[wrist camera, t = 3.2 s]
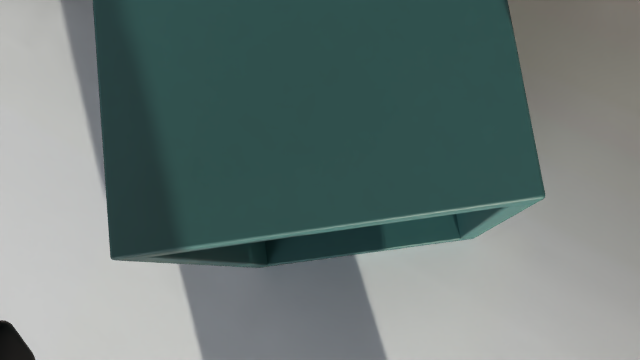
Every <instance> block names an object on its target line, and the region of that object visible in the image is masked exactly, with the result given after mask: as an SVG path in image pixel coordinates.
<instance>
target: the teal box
mask: <svg viewBox="0 0 640 360" xmlns="http://www.w3.org/2000/svg"><path fill="white" fill-rule="evenodd" d="M93 10H94V25H95V39H96V54H97V68H98V82H99V97H100V111H101V126H102V140H103V155H104V169H105V184H106V198H107V213H108V227H109V242H110V256H111V259H112V260H121V261H139V262H157V263H176V264H195V265H214V266H233V267H252V268H260V267H268V266H275V265H282V264H290V263H297V262H304V261H312V260H319V259H326V258H334V257H341V256H348V255H356V254H363V253H370V252H378V251H385V250H392V249H400V248H407V247H414V246H422V245H429V244H436V243H444V242H451V241H458V240H466V239H473V238H475V237H477V236H479V235H480V234H482V233H484V232H486V231H487V230H489V229H491V228H493V227H494V226H496V225H498V224H500V223H501V222H503V221H505V220H507V219H508V218H510V217H512V216H514V215H516V214H517V213H519V212H521V211H523V210H524V209H526V208H528V207H530V206H531V205H533V204H535V203H537V202H538V201H540V200H542V199H544V198H545V191H544V186H543V181H542V176H541V170H540V165H539V160H538V155H537V150H536V145H535V140H534V135H533V129H532V124H531V119H530V114H529V109H528V104H527V99H526V93H525V88H524V83H523V78H522V73H521V68H520V63H519V58H518V52H517V47H516V42H515V37H514V32H513V27H512V22H511V16H510V11H509V6H508V1H507V0H93Z"/></svg>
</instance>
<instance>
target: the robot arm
mask: <svg viewBox="0 0 640 360" xmlns="http://www.w3.org/2000/svg"><path fill="white" fill-rule="evenodd" d="M0 360H35V357H34V355H33V353H32V352H31V350H30V349H29V347H28V346H27V345H26V343H25V342H24V340H23V339H22V338H21V336H20V335H19V333H18V332H17V331H16V329H15V328H14V327H13V325H12V324H11V323H9V322H7V321H3V320H1V321H0Z"/></svg>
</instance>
